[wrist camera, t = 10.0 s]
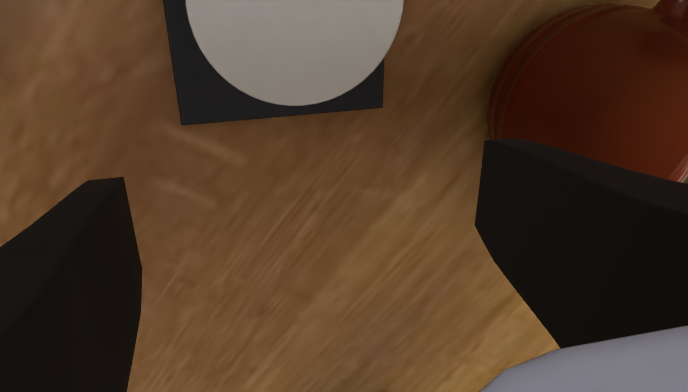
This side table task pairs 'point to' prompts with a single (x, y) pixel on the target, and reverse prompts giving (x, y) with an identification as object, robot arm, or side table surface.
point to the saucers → (294, 44)
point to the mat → (226, 100)
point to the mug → (602, 87)
